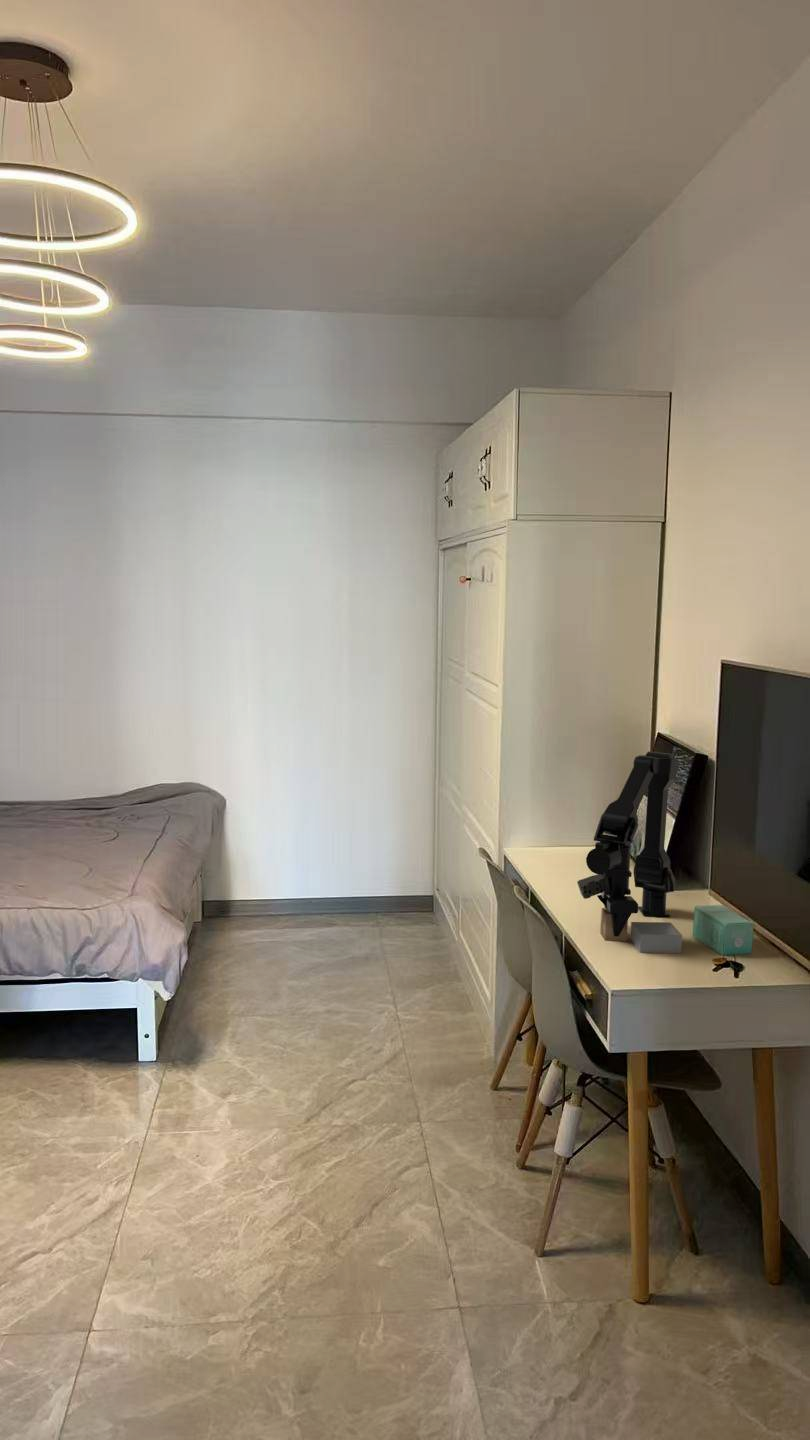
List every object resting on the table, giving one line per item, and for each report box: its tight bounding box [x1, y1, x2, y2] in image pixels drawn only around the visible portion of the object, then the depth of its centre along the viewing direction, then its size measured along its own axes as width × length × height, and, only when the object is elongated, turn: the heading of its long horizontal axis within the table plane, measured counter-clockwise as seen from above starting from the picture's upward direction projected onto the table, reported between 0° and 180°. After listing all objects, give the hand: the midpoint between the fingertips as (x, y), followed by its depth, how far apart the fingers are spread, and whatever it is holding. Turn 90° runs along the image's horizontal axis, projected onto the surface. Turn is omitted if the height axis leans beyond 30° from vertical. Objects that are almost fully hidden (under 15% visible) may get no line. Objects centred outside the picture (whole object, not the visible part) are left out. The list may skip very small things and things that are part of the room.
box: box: [691, 904, 755, 956], centre depth 241 cm, size 7×14×8 cm, turn 14°
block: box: [599, 907, 629, 942], centre depth 246 cm, size 5×5×6 cm
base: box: [629, 921, 683, 954], centre depth 240 cm, size 9×9×4 cm
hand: (613, 932), depth 246 cm, fingers closed on block, 5 cm apart
